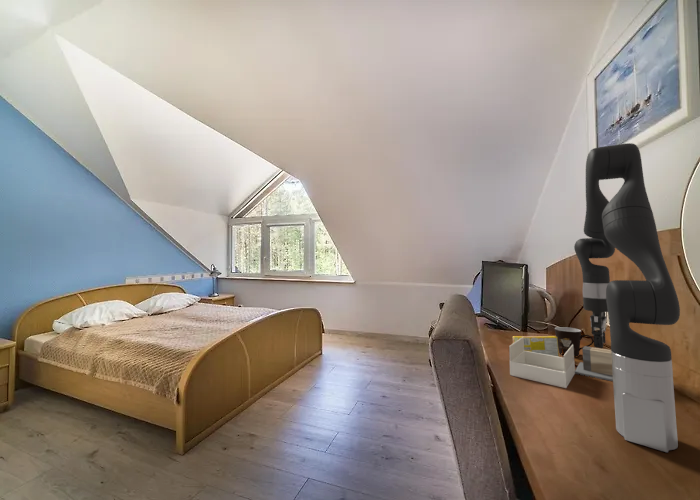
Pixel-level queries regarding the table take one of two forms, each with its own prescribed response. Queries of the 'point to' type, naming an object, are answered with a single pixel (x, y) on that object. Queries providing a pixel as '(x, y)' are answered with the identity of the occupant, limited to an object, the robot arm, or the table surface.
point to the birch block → (597, 360)
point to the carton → (541, 365)
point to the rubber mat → (592, 373)
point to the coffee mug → (569, 339)
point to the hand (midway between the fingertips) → (600, 345)
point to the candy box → (540, 344)
